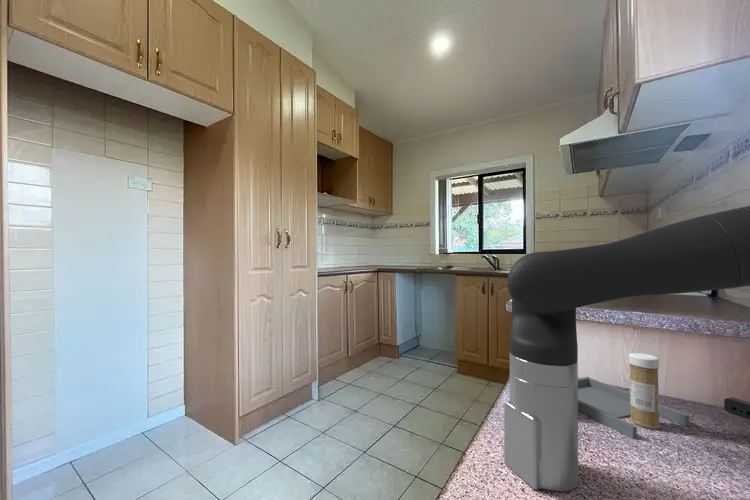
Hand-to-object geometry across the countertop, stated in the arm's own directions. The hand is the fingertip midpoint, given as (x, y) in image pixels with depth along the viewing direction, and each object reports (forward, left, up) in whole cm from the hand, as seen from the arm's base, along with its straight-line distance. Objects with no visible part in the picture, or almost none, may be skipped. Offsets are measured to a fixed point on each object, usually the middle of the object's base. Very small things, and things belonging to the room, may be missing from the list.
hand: (727, 403), depth 51 cm
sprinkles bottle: (0, +12, -9) cm, 15 cm away
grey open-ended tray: (0, +20, -9) cm, 22 cm away
